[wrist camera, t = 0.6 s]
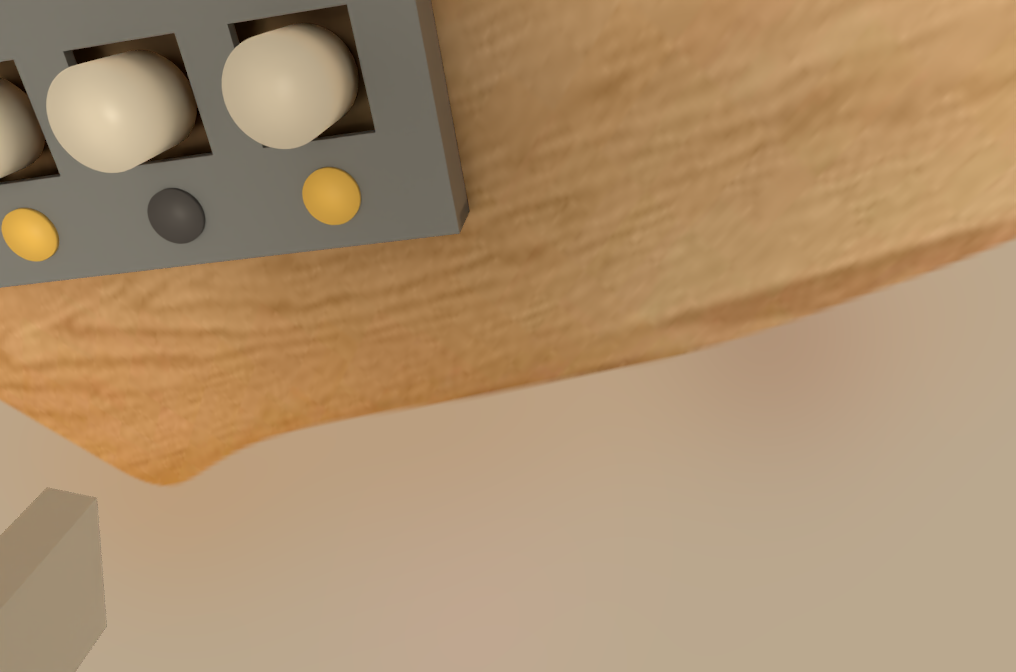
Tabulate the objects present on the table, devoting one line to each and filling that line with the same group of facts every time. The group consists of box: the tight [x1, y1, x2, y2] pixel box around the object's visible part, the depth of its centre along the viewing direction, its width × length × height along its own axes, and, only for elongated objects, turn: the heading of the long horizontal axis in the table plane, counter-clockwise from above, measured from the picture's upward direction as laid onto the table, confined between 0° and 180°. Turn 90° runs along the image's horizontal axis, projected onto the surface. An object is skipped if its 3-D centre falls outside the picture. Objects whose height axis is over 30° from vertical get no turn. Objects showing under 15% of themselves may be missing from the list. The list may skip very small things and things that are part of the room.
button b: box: [46, 50, 197, 173], centre depth 32 cm, size 4×4×4 cm
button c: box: [222, 23, 359, 149], centre depth 30 cm, size 4×4×4 cm
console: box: [0, 0, 469, 288], centre depth 34 cm, size 12×24×3 cm, turn 99°
